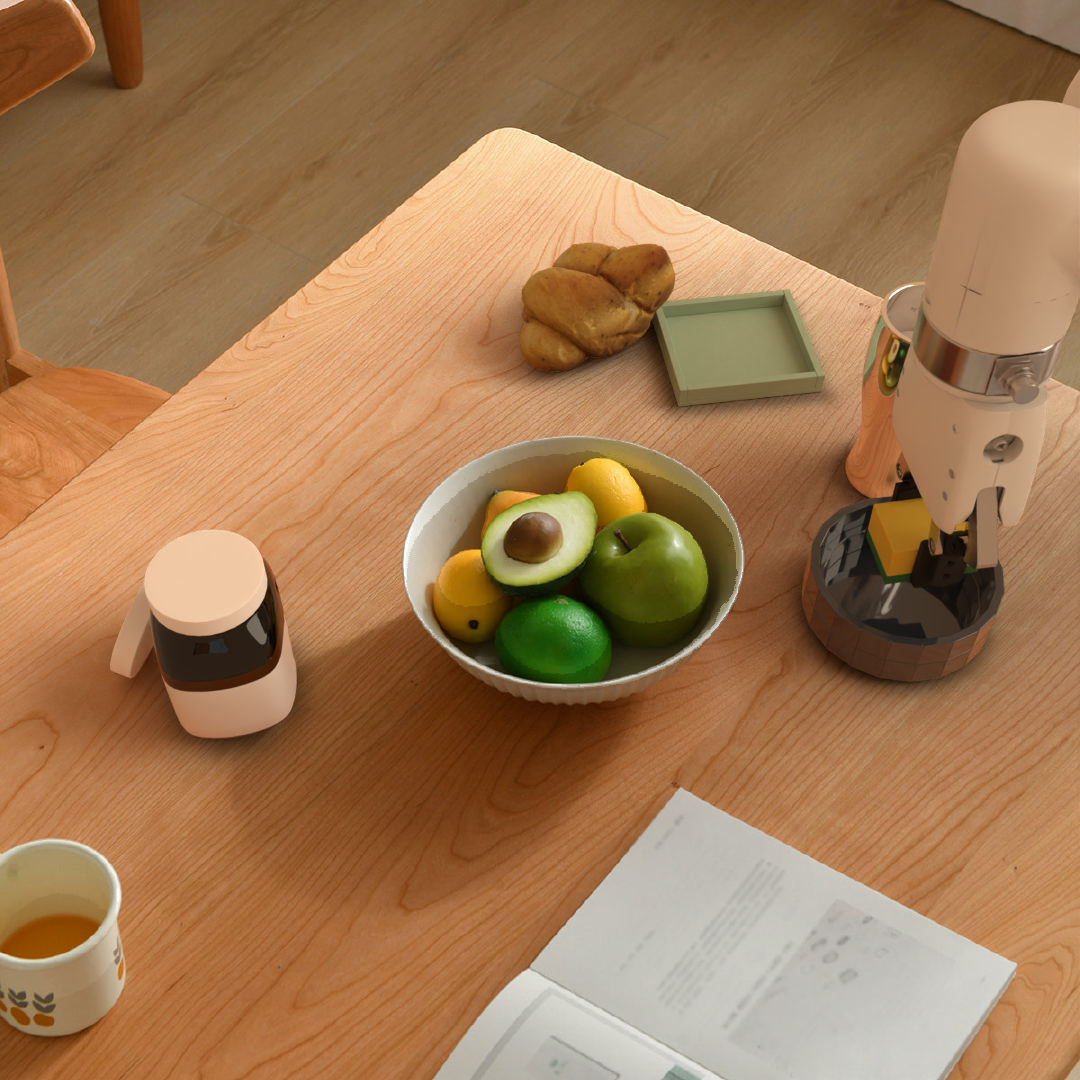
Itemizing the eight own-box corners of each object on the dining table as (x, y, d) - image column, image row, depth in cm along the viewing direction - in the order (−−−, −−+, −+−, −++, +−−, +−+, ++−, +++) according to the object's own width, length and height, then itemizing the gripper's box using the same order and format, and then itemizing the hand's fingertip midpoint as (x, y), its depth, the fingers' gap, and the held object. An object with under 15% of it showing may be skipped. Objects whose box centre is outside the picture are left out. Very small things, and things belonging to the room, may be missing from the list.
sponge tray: (786, 305, 110) (789, 288, 109) (821, 391, 104) (825, 375, 102) (651, 318, 109) (652, 302, 108) (678, 407, 103) (680, 390, 101)
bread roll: (555, 403, 103) (556, 323, 97) (480, 335, 108) (476, 254, 102) (682, 333, 108) (691, 253, 102) (604, 272, 113) (608, 191, 107)
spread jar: (306, 744, 84) (278, 633, 75) (119, 776, 82) (68, 667, 73) (290, 592, 91) (262, 475, 82) (118, 620, 90) (72, 504, 81)
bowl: (949, 530, 95) (965, 487, 91) (1014, 674, 87) (1033, 632, 83) (780, 550, 94) (789, 507, 90) (829, 697, 86) (841, 656, 82)
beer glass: (830, 495, 97) (869, 336, 85) (848, 429, 101) (887, 269, 89) (928, 519, 95) (981, 360, 84) (942, 451, 100) (994, 291, 88)
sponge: (956, 524, 87) (966, 491, 85) (977, 572, 85) (989, 539, 82) (865, 536, 87) (873, 503, 84) (884, 585, 84) (893, 552, 82)
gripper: (1121, 437, 67) (1028, 651, 81) (998, 228, 77) (935, 450, 91) (974, 457, 66) (906, 669, 80) (871, 244, 77) (827, 464, 91)
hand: (922, 550), depth 86 cm, fingers closed on sponge, 4 cm apart
